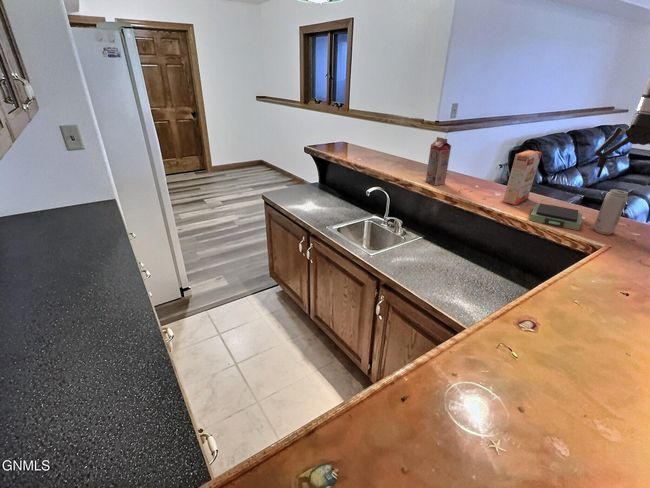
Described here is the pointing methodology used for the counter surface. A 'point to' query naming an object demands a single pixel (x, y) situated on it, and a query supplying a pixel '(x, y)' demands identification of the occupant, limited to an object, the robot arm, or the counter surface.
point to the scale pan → (557, 212)
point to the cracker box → (521, 176)
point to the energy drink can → (611, 211)
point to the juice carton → (438, 162)
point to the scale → (556, 220)
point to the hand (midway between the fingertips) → (622, 180)
